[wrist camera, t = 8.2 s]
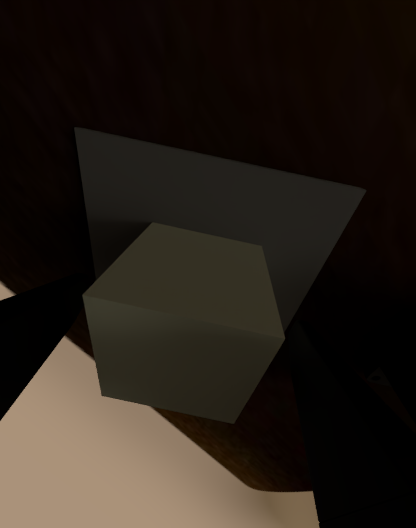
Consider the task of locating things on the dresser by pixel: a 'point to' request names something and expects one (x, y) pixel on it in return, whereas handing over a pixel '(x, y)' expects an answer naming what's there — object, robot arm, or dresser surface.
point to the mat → (212, 206)
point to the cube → (184, 323)
